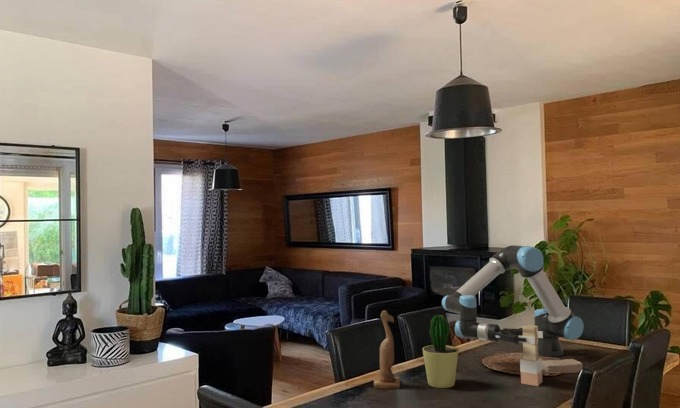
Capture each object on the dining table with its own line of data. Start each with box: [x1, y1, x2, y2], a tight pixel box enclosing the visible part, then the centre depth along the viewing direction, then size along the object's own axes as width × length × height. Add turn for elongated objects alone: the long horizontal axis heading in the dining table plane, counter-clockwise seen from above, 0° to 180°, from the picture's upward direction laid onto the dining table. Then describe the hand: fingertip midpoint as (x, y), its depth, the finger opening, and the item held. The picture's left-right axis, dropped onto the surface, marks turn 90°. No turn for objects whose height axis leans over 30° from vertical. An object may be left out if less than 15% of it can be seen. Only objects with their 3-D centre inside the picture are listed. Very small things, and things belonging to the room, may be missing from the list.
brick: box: [542, 358, 584, 374], centre depth 238 cm, size 17×8×5 cm, turn 93°
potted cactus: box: [422, 314, 460, 389], centre depth 222 cm, size 15×15×30 cm
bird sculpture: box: [373, 310, 401, 390], centre depth 222 cm, size 11×12×32 cm
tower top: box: [519, 357, 543, 374], centre depth 222 cm, size 7×7×5 cm
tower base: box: [520, 370, 543, 387], centre depth 221 cm, size 7×7×5 cm
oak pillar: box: [522, 324, 539, 361], centre depth 222 cm, size 5×5×14 cm
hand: (538, 337), depth 220 cm, fingers open, 12 cm apart
